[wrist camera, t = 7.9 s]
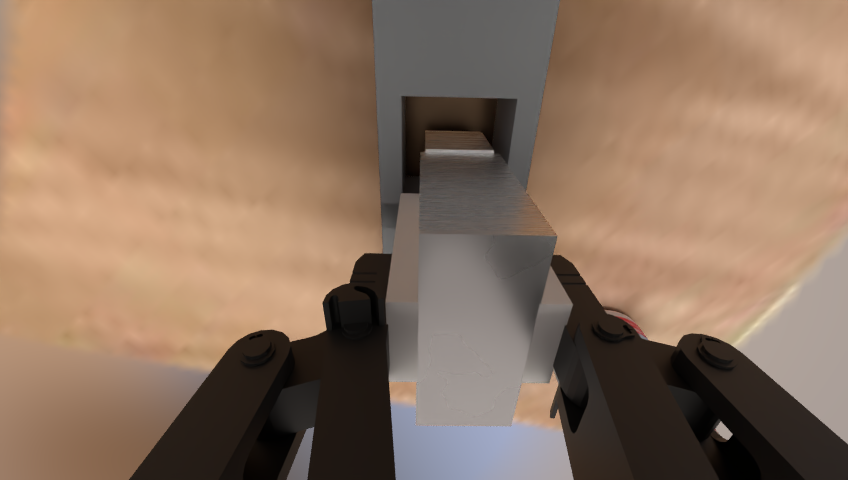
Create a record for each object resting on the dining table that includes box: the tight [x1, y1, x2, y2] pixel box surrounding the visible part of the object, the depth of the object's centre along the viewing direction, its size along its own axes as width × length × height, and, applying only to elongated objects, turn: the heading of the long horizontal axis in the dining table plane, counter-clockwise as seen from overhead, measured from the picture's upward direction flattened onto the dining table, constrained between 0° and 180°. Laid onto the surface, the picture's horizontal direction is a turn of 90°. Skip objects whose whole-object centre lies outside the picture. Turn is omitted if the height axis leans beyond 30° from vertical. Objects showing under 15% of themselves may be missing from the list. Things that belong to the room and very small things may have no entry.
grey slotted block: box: [372, 0, 560, 254], centre depth 16 cm, size 18×6×4 cm, turn 179°
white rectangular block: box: [416, 130, 557, 426], centre depth 12 cm, size 7×3×9 cm, turn 179°
